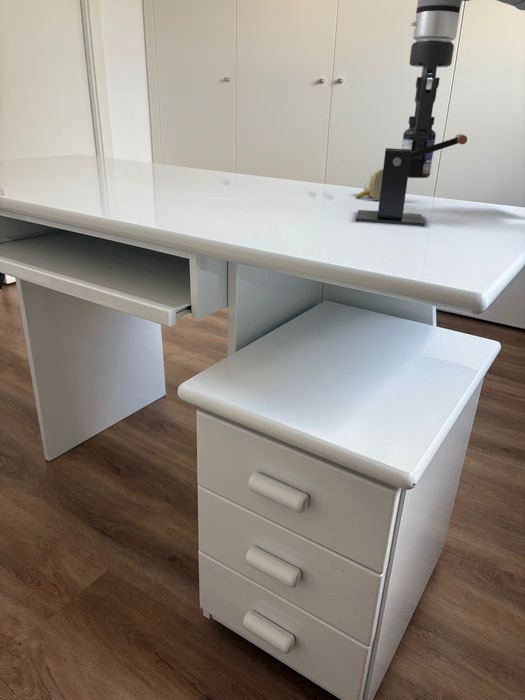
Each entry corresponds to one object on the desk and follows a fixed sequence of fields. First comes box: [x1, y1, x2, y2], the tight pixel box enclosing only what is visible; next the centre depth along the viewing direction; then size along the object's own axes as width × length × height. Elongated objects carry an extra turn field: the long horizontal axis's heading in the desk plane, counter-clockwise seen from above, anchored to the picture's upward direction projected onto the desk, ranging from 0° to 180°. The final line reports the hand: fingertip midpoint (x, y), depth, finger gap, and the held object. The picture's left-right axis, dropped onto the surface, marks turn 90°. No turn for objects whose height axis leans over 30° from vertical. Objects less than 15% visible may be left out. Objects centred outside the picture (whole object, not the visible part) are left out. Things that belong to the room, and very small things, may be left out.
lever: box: [411, 133, 468, 159], centre depth 94 cm, size 13×5×2 cm, turn 79°
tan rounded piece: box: [354, 168, 383, 202], centre depth 123 cm, size 8×10×10 cm
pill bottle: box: [401, 115, 437, 179], centre depth 105 cm, size 6×6×11 cm
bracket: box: [355, 147, 425, 227], centre depth 97 cm, size 12×9×13 cm
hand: (413, 174), depth 107 cm, fingers closed on pill bottle, 6 cm apart
